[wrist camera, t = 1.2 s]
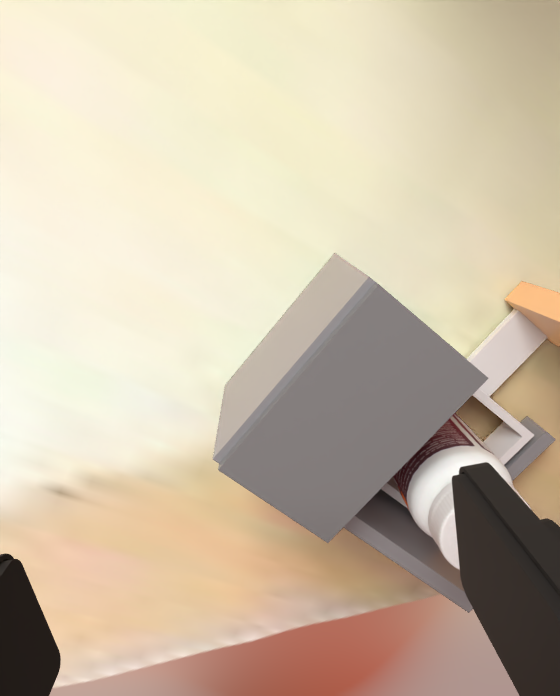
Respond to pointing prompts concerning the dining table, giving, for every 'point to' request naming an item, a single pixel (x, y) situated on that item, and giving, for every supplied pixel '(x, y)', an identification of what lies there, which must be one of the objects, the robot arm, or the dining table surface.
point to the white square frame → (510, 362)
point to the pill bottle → (443, 481)
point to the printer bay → (349, 417)
